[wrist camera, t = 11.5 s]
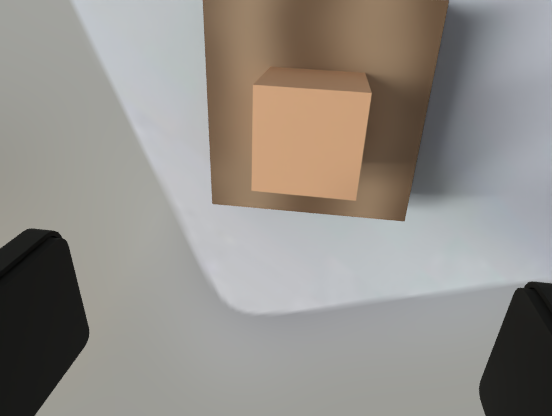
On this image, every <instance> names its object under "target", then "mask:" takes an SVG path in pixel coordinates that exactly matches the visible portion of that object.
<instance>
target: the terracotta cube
mask: <svg viewBox="0 0 552 416" xmlns="http://www.w3.org/2000/svg"><path fill="white" fill-rule="evenodd" d="M371 95H372V92H371V89H370V86H369V83H368V80H367V77H366V74H365V73H360V72H345V71H329V70H314V69H299V68H283V67H269V69H268V70H267V71H266V72H265V73H264V74H263V75H262V76H261V77H260V78H259V79H258V80H257V81H256V82H255V83H254V84H253V115H252V186H251V191H259V192H270V193H280V194H290V195H301V196H311V197H322V198H332V199H342V200H353V201H356V197H357V190H358V184H359V177H360V170H361V163H362V156H363V149H364V143H365V136H366V129H367V122H368V115H369V109H370V102H371Z"/></svg>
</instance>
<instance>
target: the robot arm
mask: <svg viewBox="0 0 552 416" xmlns="http://www.w3.org/2000/svg"><path fill="white" fill-rule="evenodd" d="M88 338H89V327H88V323H87V319H86V315H85V311H84V306H83V303H82V298H81V295H80V290H79V286H78V282H77V278H76V274H75V270H74V266H73V262H72V258H71V254H70V250H69V246H68V243H67V241H66V240H65V239H63V238H62V237H61V235H60V234H59V233H58V232H56V231H51V230H40V229H27V230H25V231H23V232H22V233H21V234H19V235H18V236H17V237H16V238H14V239H13V240H11V241H10V242H9V243H7V244H6V245H5V246H3V247H2V248H1V249H0V416H35V414H36V413H37V411H38V410H39V409H40V407H41V406H42V405H43V403H44V402H45V400H46V399H47V398H48V396H49V395H50V394H51V392H52V391H53V389H54V388H55V387H56V385H57V384H58V382H59V381H60V380H61V379H62V377H63V375H64V374H65V373H66V372H67V370H68V369H69V368H70V366H71V365H72V363H73V362H74V361H75V359H76V358H77V357H78V355H79V354H80V352H81V351H82V349H83V348H84V347H85V345H86V343H87V341H88ZM479 394H480V400H481V403H482V406H483V409H484V412H485V415H486V416H552V284H551V283H542V282H528V283H527V284H526V285H525V287H524V288H518V289H517V290H516V291H515V293H514V295H513V297H512V300H511V303H510V305H509V308H508V310H507V313H506V316H505V318H504V321H503V323H502V326H501V329H500V332H499V334H498V337H497V339H496V342H495V345H494V347H493V350H492V352H491V355H490V357H489V360H488V363H487V365H486V368H485V370H484V373H483V376H482V379H481V381H480V386H479Z"/></svg>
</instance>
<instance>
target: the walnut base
mask: <svg viewBox="0 0 552 416" xmlns="http://www.w3.org/2000/svg"><path fill="white" fill-rule="evenodd" d="M448 3H449V0H203V14H204V35H205V57H206V78H207V99H208V120H209V142H210V163H211V184H212V204H220V205H231V206H242V207H253V208H264V209H275V210H286V211H297V212H308V213H319V214H330V215H341V216H352V217H363V218H374V219H385V220H396V221H405V216H406V211H407V206H408V201H409V197H410V192H411V187H412V182H413V177H414V172H415V167H416V162H417V157H418V152H419V147H420V142H421V137H422V132H423V127H424V122H425V117H426V112H427V107H428V102H429V97H430V92H431V87H432V82H433V77H434V73H435V68H436V63H437V58H438V53H439V48H440V43H441V38H442V33H443V28H444V23H445V18H446V13H447V8H448ZM269 67H283V68H299V69H314V70H329V71H345V72H360V73H365V74H366V77H367V80H368V83H369V86H370V89H371V92H372V95H371V102H370V109H369V115H368V122H367V129H366V136H365V143H364V149H363V156H362V163H361V170H360V177H359V184H358V190H357V197H356V201H353V200H342V199H332V198H322V197H311V196H301V195H290V194H280V193H270V192H259V191H251V186H252V115H253V84H254V83H255V82H256V81H257V80H258V79H259V78H260V77H261V76H262V75H263V74H264V73H265V72H266V71H267V70H268V69H269Z"/></svg>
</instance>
